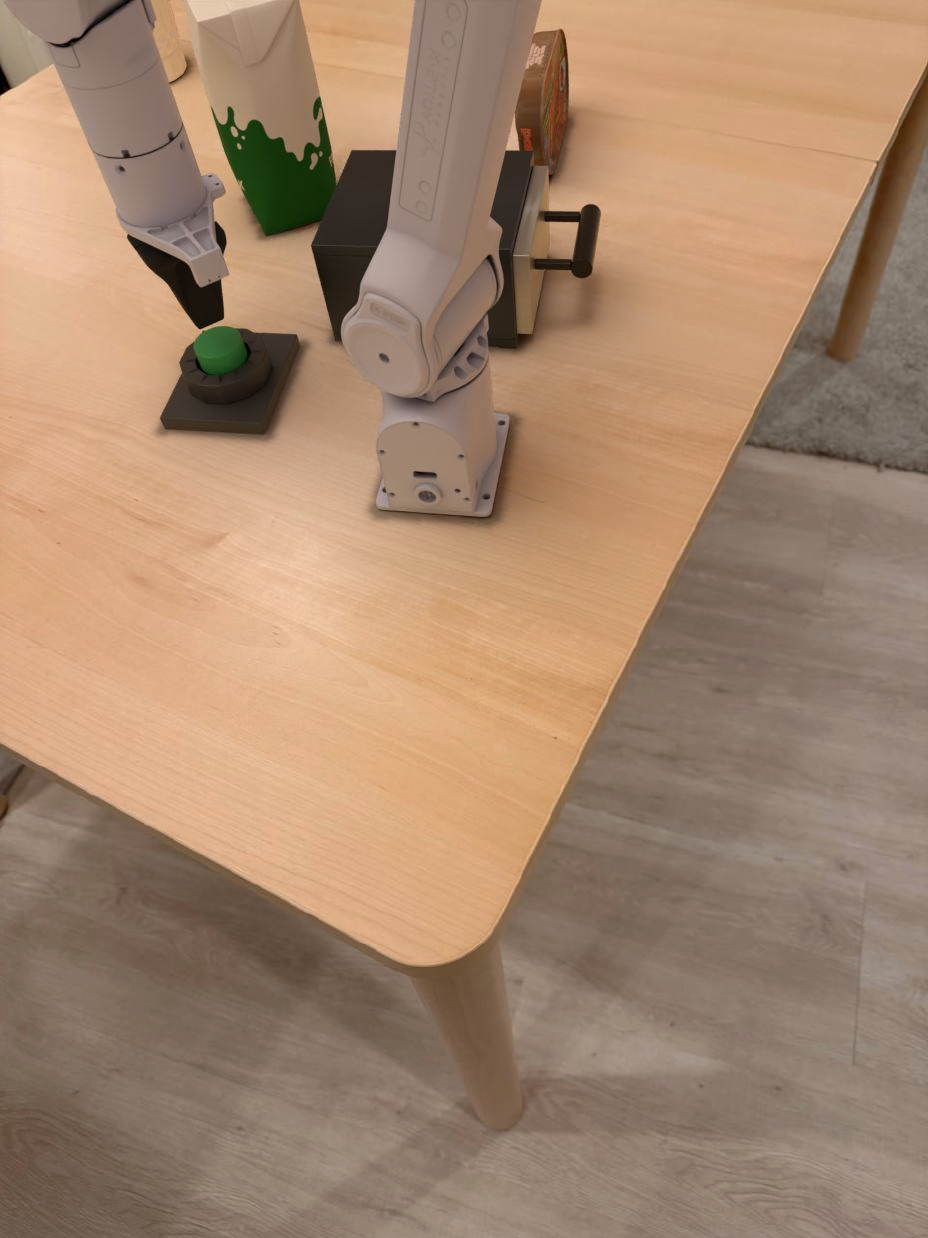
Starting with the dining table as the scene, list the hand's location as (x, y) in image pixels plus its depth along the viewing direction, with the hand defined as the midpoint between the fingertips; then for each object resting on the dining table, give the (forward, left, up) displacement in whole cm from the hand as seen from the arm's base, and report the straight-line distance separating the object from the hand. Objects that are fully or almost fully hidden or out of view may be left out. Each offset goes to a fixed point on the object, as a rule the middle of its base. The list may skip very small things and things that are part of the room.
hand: (208, 319), depth 67 cm
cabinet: (+12, -14, -6) cm, 20 cm away
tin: (+34, -20, -6) cm, 40 cm away
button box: (0, 0, -6) cm, 6 cm away
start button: (0, 0, -4) cm, 4 cm away
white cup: (+49, +25, -6) cm, 55 cm away
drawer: (+12, -18, -5) cm, 22 cm away
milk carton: (+24, +2, -6) cm, 25 cm away
